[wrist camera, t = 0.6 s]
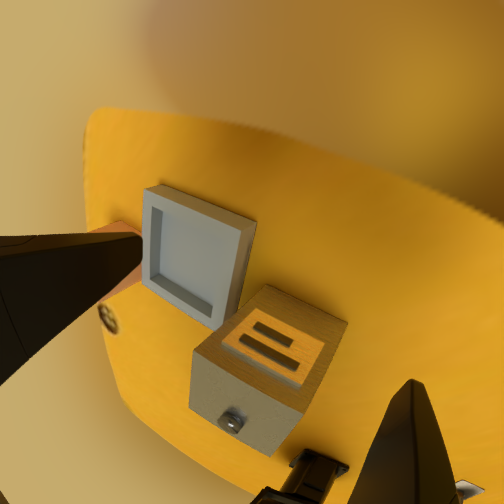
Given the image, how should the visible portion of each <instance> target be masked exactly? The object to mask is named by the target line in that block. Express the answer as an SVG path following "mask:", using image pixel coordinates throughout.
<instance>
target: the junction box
mask: <svg viewBox="0 0 504 504" xmlns="http://www.w3.org/2000/svg"><path fill="white" fill-rule="evenodd" d="M347 325H348V323H346V322H344V321H342V320H340V319H338V318H336V317H334V316H331V315H329V314H327V313H325V312H323V311H321V310H319V309H317V308H315V307H313V306H311V305H309V304H307V303H304V302H302V301H300V300H298V299H296V298H294V297H292V296H290V295H288V294H286V293H284V292H282V291H280V290H278V289H276V288H274V287H272V286H270V285H268V284H266V285H265V286H264V287H263V288H262V289H261V290H260V291H259V292H258V293H257V294H256V295H255V296H253V297H252V298H251V299H250V300H249V301H248V302H247V303H246V304H245V305H244V306H242V307H241V308H240V309H239V310H238V311H237V312H236V313H235V314H234V315H232V316H231V317H230V318H229V319H228V320H227V321H226V322H225V323H224V324H222V325H221V326H220V327H219V328H218V329H217V330H216V331H215V332H213V333H212V334H211V335H210V336H209V337H208V338H207V339H206V340H204V341H203V342H202V343H201V344H200V345H199V346H198V347H196V348H195V349H194V350H193V358H192V370H191V382H190V396H189V408H190V409H191V410H193V411H194V412H196V413H197V414H199V415H200V416H201V417H203V418H204V419H206V420H207V421H209V422H211V423H212V424H214V425H215V426H217V427H218V428H220V429H221V430H223V431H225V432H226V433H228V434H230V435H231V436H233V437H235V438H236V439H238V440H240V441H241V442H243V443H245V444H247V445H248V446H250V447H252V448H254V449H255V450H257V451H259V452H261V453H263V454H265V455H267V456H269V457H271V455H272V454H273V453H274V452H275V451H276V449H277V448H278V447H279V446H280V445H281V443H282V442H283V441H284V440H285V438H286V437H287V436H288V435H289V433H290V432H291V431H292V430H293V428H294V427H295V426H296V424H297V423H298V422H299V420H300V419H301V418H302V416H303V415H304V413H305V412H306V410H307V408H308V406H309V404H310V402H311V400H312V399H313V397H314V395H315V393H316V391H317V389H318V387H319V385H320V383H321V381H322V379H323V377H324V375H325V373H326V371H327V369H328V367H329V365H330V363H331V361H332V358H333V356H334V354H335V352H336V350H337V348H338V345H339V343H340V341H341V339H342V336H343V334H344V332H345V330H346V327H347Z"/></svg>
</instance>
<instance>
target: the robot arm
mask: <svg viewBox="0 0 504 504" xmlns="http://www.w3.org/2000/svg"><path fill="white" fill-rule="evenodd" d="M142 259H143V238H142V237H141V236H140V235H138V234H137V233H135V232H101V233H73V234H50V235H38V236H37V235H27V236H0V386H1V385H2V384H3V383H4V382H5V381H6V380H7V379H8V378H9V377H11V376H12V375H13V374H14V373H15V372H16V371H17V370H18V369H19V368H20V367H21V366H22V365H24V364H25V363H26V362H27V361H28V360H29V358H31V357H32V356H33V355H35V354H36V353H37V352H38V351H39V350H40V349H41V348H42V347H44V346H45V345H46V344H47V343H48V342H49V341H51V340H52V339H53V338H54V337H55V336H57V335H58V334H59V333H60V332H61V331H62V330H64V329H65V328H66V327H67V326H68V325H70V324H71V323H72V322H73V321H74V320H76V319H77V318H78V317H79V316H81V315H82V314H83V313H84V312H85V311H87V310H88V309H89V308H90V307H92V306H93V305H94V304H95V303H97V302H98V301H99V300H100V299H102V298H103V297H104V296H106V295H107V294H108V293H109V292H110V291H112V290H113V289H114V288H115V287H116V286H117V285H118V284H119V283H120V282H121V281H122V280H123V279H124V278H126V277H127V276H128V275H129V274H130V273H131V272H132V271H133V270H134V269H135V268H136V267H137V266H139V265H140V263H141V262H142ZM289 467H291V468H293V469H292V471H291V473H290V475H289V476H288V478H287V479H286V481H285V483H284V484H283V486H282V488H281V489H280V491H277V490H274V489H272V488H271V487H268V486H266V487H265V489H262V490H261V492H260V493H259V494H258V495H257V496H256V498H255V499H254V500H253V501H252V502H251V503H250V504H323V503H324V501H325V499H326V497H327V495H328V493H329V491H330V489H331V487H332V485H333V483H334V481H335V479H336V478H338V477H339V476H341V475H343V474H344V473H346V472H347V471H348V470H349V467H348V466H345V465H343V464H340V463H338V462H336V461H333V460H331V459H328V458H326V457H324V456H321V455H319V454H317V453H315V452H312V451H310V450H308V449H304V450H303V451H302V452H301V453H300V454H299V455H298V456H297V457H296V458H295V459H294V460H293V461H292V462H291V463H290V464H289ZM456 492H457V488H456V484H455V480H454V476H453V472H452V468H451V464H450V461H449V457H448V454H447V450H446V447H445V444H444V440H443V437H442V434H441V431H440V428H439V425H438V422H437V419H436V416H435V413H434V411H433V408H432V405H431V402H430V400H429V397H428V394H427V392H426V389H425V386H424V384H423V383H421V382H419V381H417V380H414V379H409V380H408V381H407V382H406V383H405V384H404V385H403V386H402V387H401V388H400V390H399V391H398V392H397V393H396V394H395V395H394V396H393V398H392V399H391V401H390V403H389V405H388V408H387V410H386V413H385V415H384V418H383V420H382V422H381V425H380V427H379V429H378V431H377V434H376V436H375V438H374V440H373V442H372V445H371V447H370V449H369V452H368V454H367V457H366V460H365V462H364V465H363V467H362V470H361V473H360V475H359V478H358V480H357V482H356V485H355V487H354V489H353V492H352V494H351V496H350V498H349V501H348V503H347V504H460V501H459V497H458V493H456ZM0 504H9V503H8V501H7V500H6V498H5V497H4V495H3V494H2V492H1V491H0Z"/></svg>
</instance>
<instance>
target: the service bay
mask: <svg viewBox="0 0 504 504" xmlns="http://www.w3.org/2000/svg"><path fill="white" fill-rule="evenodd" d="M256 225H257V222H254V221H252V220H250V219H247V218H245V217H242V216H240V215H237V214H235V213H233V212H230V211H228V210H225V209H223V208H220V207H218V206H215V205H213V204H210V203H208V202H205V201H203V200H201V199H198V198H195V197H193V196H190V195H188V194H185V193H183V192H180V191H178V190H175V189H173V188H170V187H168V186H165V185H158V186H154V187H150V188H146V189H144V195H143V215H142V238H143V259H142V284H143V285H145V286H146V287H147V288H149V289H150V290H152V291H153V292H155V293H156V294H158V295H159V296H160V297H162V298H163V299H165V300H166V301H168V302H169V303H171V304H172V305H174V306H175V307H177V308H178V309H180V310H181V311H183V312H185V313H186V314H188V315H189V316H191V317H192V318H194V319H195V320H197V321H199V322H200V323H202V324H203V325H205V326H207V327H208V328H210V329H211V330H213V331H216V330H217V329H218V328H219V327H220V326H221V325H222V324H224V323H225V322H226V321H227V320H228V319H229V318H230V317H231V316H232V315H234V314H235V313H236V312H237V308H238V304H239V299H240V295H241V291H242V286H243V282H244V277H245V273H246V269H247V264H248V260H249V256H250V251H251V247H252V242H253V238H254V234H255V229H256Z"/></svg>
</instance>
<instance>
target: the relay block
mask: <svg viewBox="0 0 504 504" xmlns="http://www.w3.org/2000/svg"><path fill="white" fill-rule="evenodd" d="M101 232H135V233H137V234H138V235H140V236H141V237H142V233H141V232H140V231H138V230H136V229H134V228H133V227H131V226H129V225H128V224H126V223H124V222H122V221H118V222H115V223H112V224H109V225H107V226H104V227H101V228H98V229H96V230H93V231H90V232H88V233H101ZM141 280H142V262H141V263H140V265H139V266H137V267H136V268H135V269H134V270H133V271H132V272H131V273H130V274H129V275H128V276H127V277H126V278H124V279H123V280H122V281H121V282H120V283H119V284H118V285H117V286H116V287H115V288H114V289H113V290H112V291H110V292H109V293H108V294H107V295H106V296H104V297H103V298H102V299H100V300H99V301H98V302H97V303H98V304H99V303H101V302H102V301H104V300H106V299H108V298H110V297H111V296H113V295H115V294H117V293H119V292H120V291H122V290H124V289H126V288H128V287H130V286H131V285H133V284H135V283H137V282H139V281H141Z"/></svg>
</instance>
